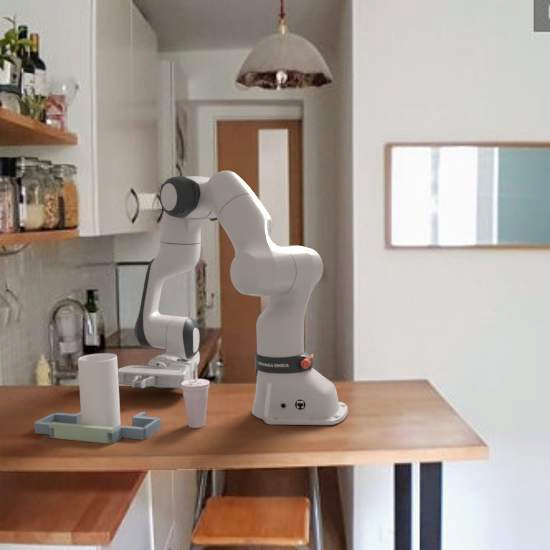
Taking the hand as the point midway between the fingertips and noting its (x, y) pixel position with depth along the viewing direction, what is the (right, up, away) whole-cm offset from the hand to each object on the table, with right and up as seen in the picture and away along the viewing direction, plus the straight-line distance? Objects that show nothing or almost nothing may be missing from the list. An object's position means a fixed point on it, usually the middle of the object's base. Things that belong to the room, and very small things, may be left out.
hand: (137, 384), depth 140 cm
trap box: (-4, -7, -15) cm, 17 cm away
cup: (-4, -7, -14) cm, 17 cm away
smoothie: (+17, -6, -14) cm, 23 cm away
